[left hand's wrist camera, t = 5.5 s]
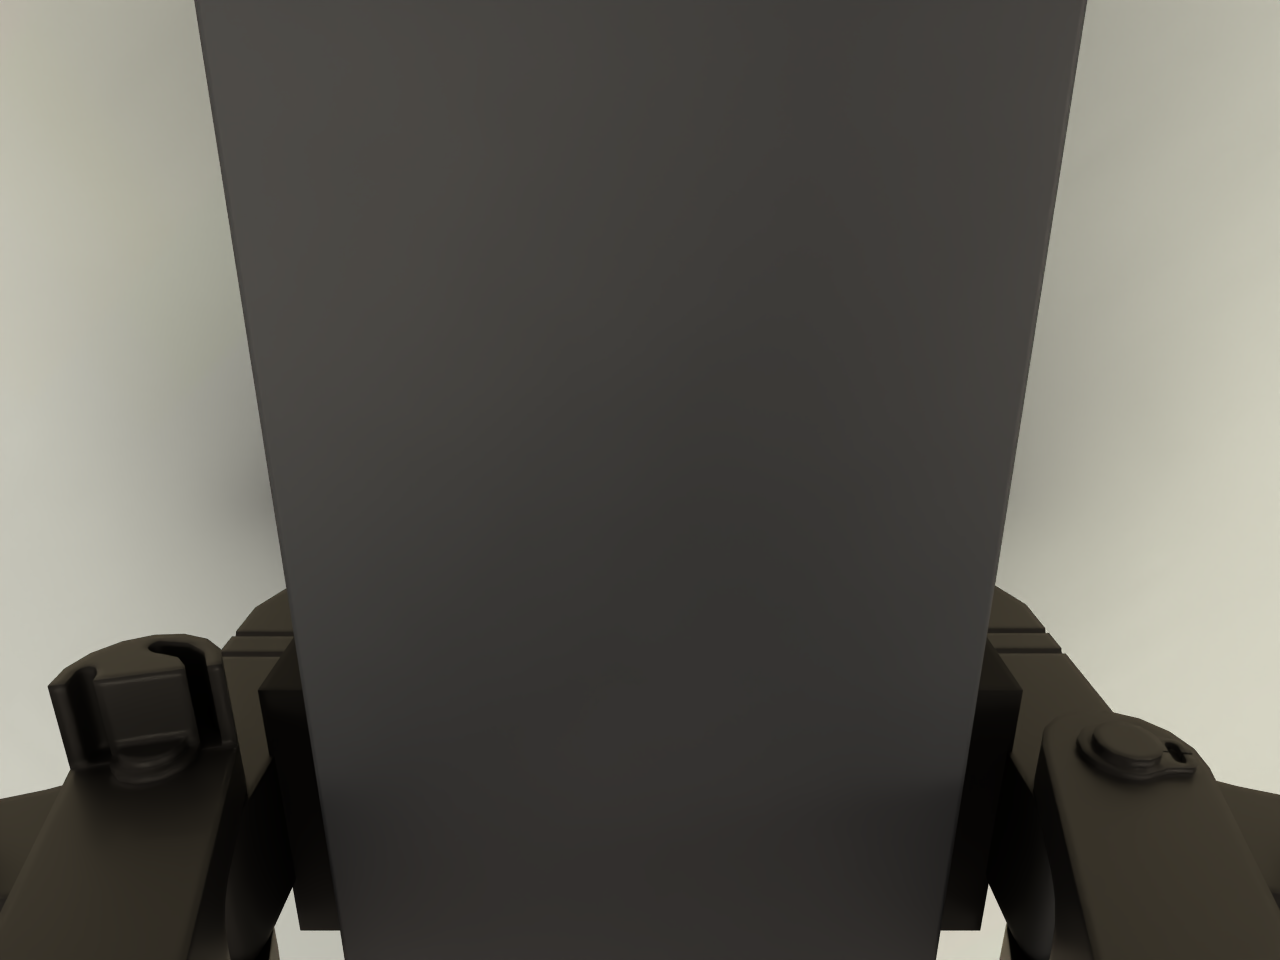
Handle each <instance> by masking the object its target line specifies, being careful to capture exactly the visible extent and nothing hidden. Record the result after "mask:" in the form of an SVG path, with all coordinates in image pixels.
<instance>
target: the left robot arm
mask: <svg viewBox="0 0 1280 960" xmlns="http://www.w3.org/2000/svg"><path fill="white" fill-rule="evenodd" d="M48 690H49V693H50V697H51V700H52V704H53V708H54V711H55V715H56V719H57V722H58V726H59V729H60V733H61V737H62V740H63V744H64V747H65V751H66V755H67V758H68V762H69V766H70V771H69V773H68V775H67V777H66V780H65V782H64V784H63V785H62V786H59V787H55V788H51V789H47V790H43V791H38V792H33V793H28V794H23V795H18V796H13V797H8V798H3V799H0V960H280V958H279V951H278V944H277V939H276V934H275V929H274V926H275V924H276V922H277V920H278V918H279V915H280V913H281V911H282V909H283V907H284V904H285V902H286V900H287V898H288V896H289V894H290V891H291V889H292V887H293V891H294V897H295V903H296V908H297V914H298V919H299V925H300V930H340V926H339V920H338V913H337V907H336V901H335V894H334V888H333V881H332V875H331V869H330V862H329V856H328V850H327V843H326V837H325V830H324V824H323V818H322V811H321V805H320V799H319V792H318V786H317V779H316V773H315V767H314V760H313V754H312V748H311V741H310V735H309V728H308V722H307V716H306V709H305V703H304V697H303V690H302V684H301V677H300V671H299V665H298V658H297V652H296V646H295V639H294V633H293V626H292V620H291V614H290V607H289V601H288V594H287V588H286V589H285V590H283V591H281V592H280V593H278V594H276V595H275V596H273V597H272V598H270V599H268V600H267V601H265V602H264V603H262V604H260V605H259V606H257V607H255V609H254V610H253V611H252V612H251V614H250V615H249V616H248V617H247V619H246V620H245V621H244V622H243V624H242V625H241V626H240V627H239V629H238V630H237V631H236V636H232V637H231V639H230V640H229V641H228V642H227V644H226V645H225V646H224V647H223V648H222V650H221V649H220V648H219V647H217V646H216V645H215V644H213V643H212V642H211V641H210V640H208V639H206V638H201V637H196V636H192V635H187V634H165V635H151V636H147V637H142V638H137V639H132V640H127V641H122V642H119V643H117V644H114V645H111V646H109V647H106V648H103V649H101V650H98V651H95V652H92V653H90V654H88V655H87V656H85V657H83V658H82V659H80V660H78V661H77V662H75V663H73V664H72V665H70V666H68V667H66V668H65V669H64V670H63V671H62V672H61V673H60V674H59V675H58V676H57V677H56V678H55V679H54V680H53V681H52V682H51V683H50V684H49V685H48ZM988 884H989V885H990V887H991V889H992V892H993V894H994V896H995V898H996V900H997V903H998V905H999V907H1000V909H1001V911H1002V913H1003V916H1004V918H1005V920H1006V922H1007V923H1006V929H1005V934H1004V939H1003V944H1002V949H1001V955H1000V960H1280V795H1278V794H1273V793H1268V792H1263V791H1258V790H1253V789H1248V788H1243V787H1238V786H1234V785H1230V784H1227V783H1223V782H1219V781H1216V780H1215V778H1214V776H1213V774H1212V772H1211V770H1210V768H1209V767H1208V765H1207V764H1206V763H1205V762H1204V760H1203V759H1202V758H1201V757H1200V755H1199V754H1198V753H1197V752H1196V750H1195V749H1194V748H1192V747H1191V746H1189V745H1188V744H1187V743H1185V742H1184V741H1182V740H1181V739H1179V738H1178V737H1177V736H1175V735H1174V734H1172V733H1171V732H1169V731H1167V730H1165V729H1162V728H1160V727H1158V726H1155V725H1153V724H1151V723H1148V722H1146V721H1144V720H1142V719H1139V718H1135V717H1131V716H1126V715H1122V714H1118V713H1114V712H1112V710H1111V709H1110V708H1109V707H1108V705H1107V704H1106V703H1105V702H1104V700H1103V699H1102V698H1101V697H1100V695H1099V694H1098V693H1097V692H1096V691H1095V689H1094V688H1093V687H1092V686H1091V684H1090V683H1089V682H1088V681H1087V679H1086V678H1085V677H1084V676H1083V674H1082V673H1081V672H1080V671H1079V670H1078V668H1077V667H1076V666H1075V665H1074V663H1073V662H1072V661H1071V660H1070V658H1069V657H1068V656H1067V655H1066V654H1062V652H1061V647H1060V646H1059V645H1058V644H1057V642H1056V641H1055V640H1054V639H1053V637H1052V636H1051V635H1050V634H1049V633H1045V627H1044V626H1043V625H1042V624H1041V623H1040V621H1039V620H1038V619H1037V618H1036V616H1035V615H1034V614H1033V613H1032V611H1031V610H1030V609H1029V608H1028V606H1027V605H1026V604H1024V603H1023V602H1021V601H1019V600H1018V599H1016V598H1014V597H1013V596H1011V595H1010V594H1008V593H1006V592H1005V591H1003V590H1001V589H1000V588H998V587H997V586H995V588H994V594H993V600H992V607H991V613H990V619H989V626H988V632H987V638H986V645H985V651H984V657H983V664H982V670H981V676H980V683H979V689H978V695H977V702H976V708H975V714H974V721H973V727H972V734H971V740H970V746H969V753H968V759H967V765H966V772H965V778H964V784H963V791H962V797H961V803H960V810H959V816H958V822H957V829H956V835H955V841H954V848H953V854H952V860H951V867H950V873H949V879H948V886H947V892H946V898H945V905H944V911H943V917H942V924H941V930H980V929H981V923H982V917H983V912H984V906H985V901H986V895H987V890H988Z"/></svg>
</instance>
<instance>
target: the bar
mask: <svg viewBox="0 0 1280 960" xmlns="http://www.w3.org/2000/svg"><path fill="white" fill-rule="evenodd" d="M194 1H195V8H196V14H197V21H198V27H199V33H200V40H201V46H202V52H203V59H204V65H205V72H206V78H207V84H208V91H209V97H210V103H211V110H212V116H213V123H214V129H215V135H216V142H217V148H218V154H219V161H220V167H221V174H222V180H223V186H224V193H225V199H226V205H227V212H228V218H229V225H230V231H231V237H232V244H233V250H234V256H235V263H236V269H237V276H238V282H239V288H240V295H241V301H242V307H243V314H244V320H245V327H246V333H247V339H248V346H249V352H250V359H251V365H252V371H253V378H254V384H255V390H256V397H257V403H258V410H259V416H260V422H261V429H262V435H263V441H264V448H265V454H266V461H267V467H268V473H269V480H270V486H271V492H272V499H273V505H274V512H275V518H276V524H277V531H278V537H279V543H280V550H281V556H282V563H283V569H284V575H285V582H286V588H287V594H288V601H289V607H290V614H291V620H292V626H293V633H294V639H295V646H296V652H297V658H298V665H299V671H300V677H301V684H302V690H303V697H304V703H305V709H306V716H307V722H308V728H309V735H310V741H311V748H312V754H313V760H314V767H315V773H316V779H317V786H318V792H319V799H320V805H321V811H322V818H323V824H324V830H325V837H326V843H327V850H328V856H329V862H330V869H331V875H332V881H333V888H334V894H335V901H336V907H337V913H338V920H339V926H340V933H341V939H342V945H343V952H344V958H345V960H936V955H937V949H938V943H939V936H940V930H941V924H942V917H943V911H944V905H945V898H946V892H947V886H948V879H949V873H950V867H951V860H952V854H953V848H954V841H955V835H956V829H957V822H958V816H959V810H960V803H961V797H962V791H963V784H964V778H965V772H966V765H967V759H968V753H969V746H970V740H971V734H972V727H973V721H974V714H975V708H976V702H977V695H978V689H979V683H980V676H981V670H982V664H983V657H984V651H985V645H986V638H987V632H988V626H989V619H990V613H991V607H992V600H993V594H994V588H995V581H996V575H997V569H998V562H999V556H1000V550H1001V543H1002V537H1003V531H1004V524H1005V518H1006V512H1007V505H1008V499H1009V493H1010V486H1011V480H1012V474H1013V467H1014V461H1015V455H1016V448H1017V442H1018V436H1019V429H1020V423H1021V417H1022V410H1023V404H1024V398H1025V391H1026V385H1027V378H1028V372H1029V366H1030V359H1031V353H1032V347H1033V340H1034V334H1035V328H1036V321H1037V315H1038V309H1039V302H1040V296H1041V290H1042V283H1043V277H1044V271H1045V264H1046V258H1047V252H1048V245H1049V239H1050V233H1051V226H1052V220H1053V214H1054V207H1055V201H1056V195H1057V188H1058V182H1059V176H1060V169H1061V163H1062V157H1063V150H1064V144H1065V138H1066V131H1067V125H1068V119H1069V112H1070V106H1071V100H1072V93H1073V87H1074V81H1075V74H1076V68H1077V62H1078V55H1079V49H1080V43H1081V36H1082V30H1083V23H1084V17H1085V11H1086V4H1087V0H194Z"/></svg>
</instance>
